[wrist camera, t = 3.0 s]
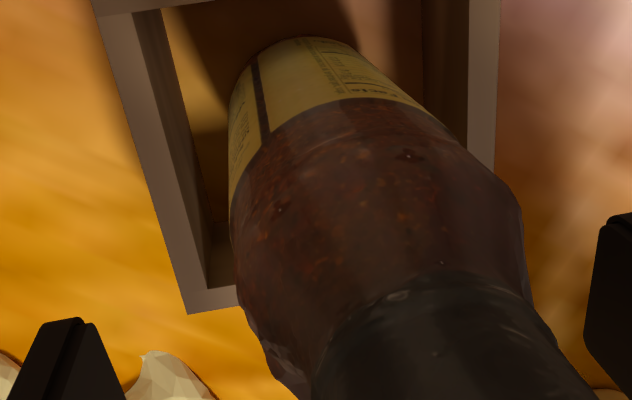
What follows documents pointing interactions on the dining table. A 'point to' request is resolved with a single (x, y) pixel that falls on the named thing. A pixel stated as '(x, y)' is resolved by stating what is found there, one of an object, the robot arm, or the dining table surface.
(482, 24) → the holder
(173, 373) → the cloth
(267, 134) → the sauce bottle
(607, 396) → the bark textured cylinder
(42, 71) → the dining table surface
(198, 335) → the dining table surface
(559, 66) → the dining table surface
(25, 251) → the dining table surface
